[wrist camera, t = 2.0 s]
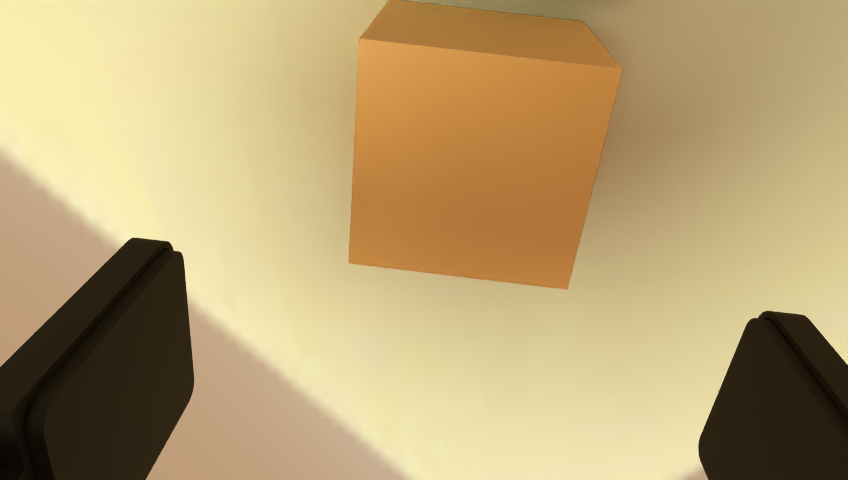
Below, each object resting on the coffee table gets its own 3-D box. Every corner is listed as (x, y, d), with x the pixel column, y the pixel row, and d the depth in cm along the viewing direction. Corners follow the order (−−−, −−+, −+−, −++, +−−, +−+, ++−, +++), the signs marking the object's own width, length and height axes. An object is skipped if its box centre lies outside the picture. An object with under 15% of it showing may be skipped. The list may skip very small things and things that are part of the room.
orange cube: (582, 21, 20) (622, 69, 14) (545, 196, 23) (567, 289, 17) (389, -1, 20) (359, 38, 14) (377, 176, 23) (348, 263, 17)
